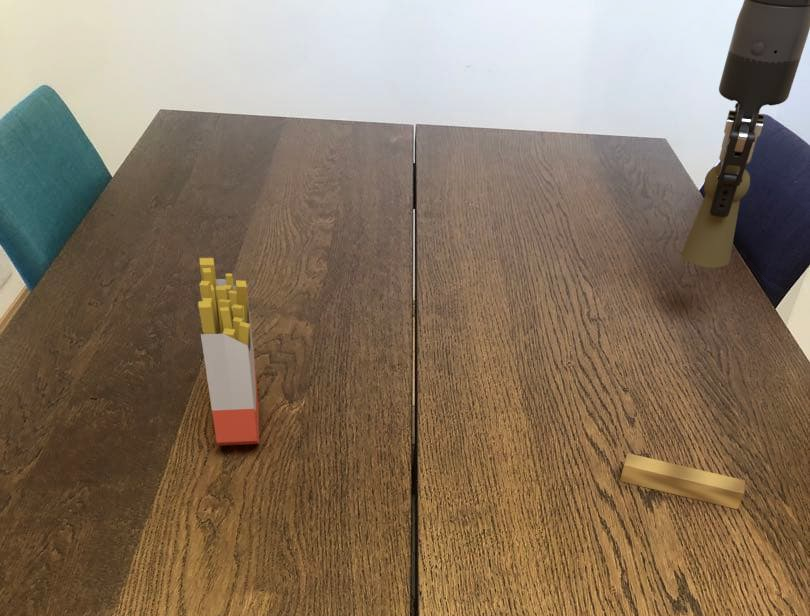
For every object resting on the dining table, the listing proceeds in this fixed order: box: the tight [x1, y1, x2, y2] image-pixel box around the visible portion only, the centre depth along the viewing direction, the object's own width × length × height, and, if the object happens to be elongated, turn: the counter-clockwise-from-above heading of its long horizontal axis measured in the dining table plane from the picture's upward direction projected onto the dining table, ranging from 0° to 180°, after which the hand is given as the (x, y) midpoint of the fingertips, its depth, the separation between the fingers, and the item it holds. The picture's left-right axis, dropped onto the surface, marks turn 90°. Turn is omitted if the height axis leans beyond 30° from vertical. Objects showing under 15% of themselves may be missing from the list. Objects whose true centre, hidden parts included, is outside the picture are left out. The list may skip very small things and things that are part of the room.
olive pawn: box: [681, 164, 751, 269], centre depth 101 cm, size 6×6×11 cm
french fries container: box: [197, 257, 260, 447], centre depth 83 cm, size 5×11×18 cm, turn 8°
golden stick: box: [619, 452, 746, 510], centre depth 84 cm, size 12×2×2 cm, turn 71°
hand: (720, 206), depth 100 cm, fingers closed on olive pawn, 5 cm apart
